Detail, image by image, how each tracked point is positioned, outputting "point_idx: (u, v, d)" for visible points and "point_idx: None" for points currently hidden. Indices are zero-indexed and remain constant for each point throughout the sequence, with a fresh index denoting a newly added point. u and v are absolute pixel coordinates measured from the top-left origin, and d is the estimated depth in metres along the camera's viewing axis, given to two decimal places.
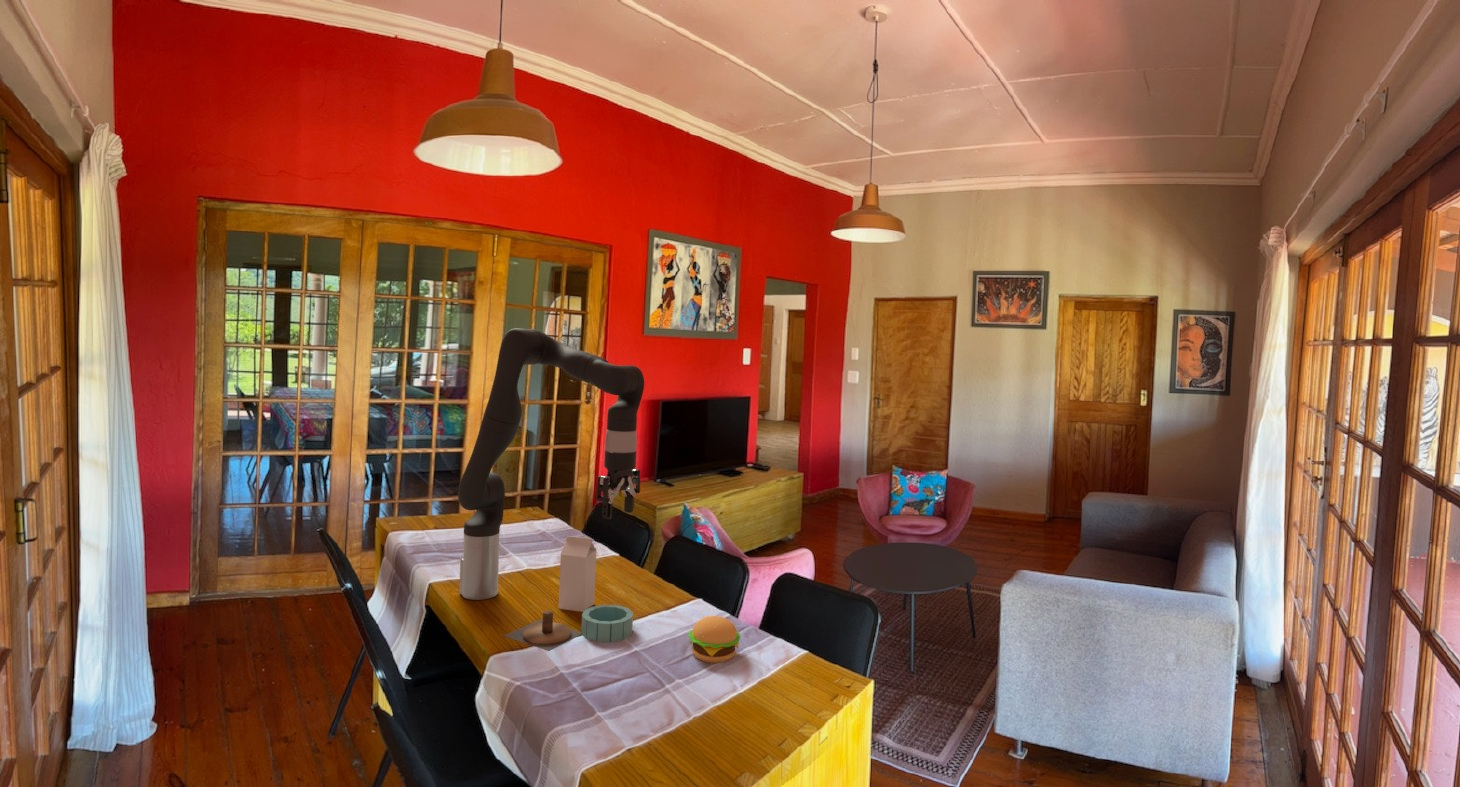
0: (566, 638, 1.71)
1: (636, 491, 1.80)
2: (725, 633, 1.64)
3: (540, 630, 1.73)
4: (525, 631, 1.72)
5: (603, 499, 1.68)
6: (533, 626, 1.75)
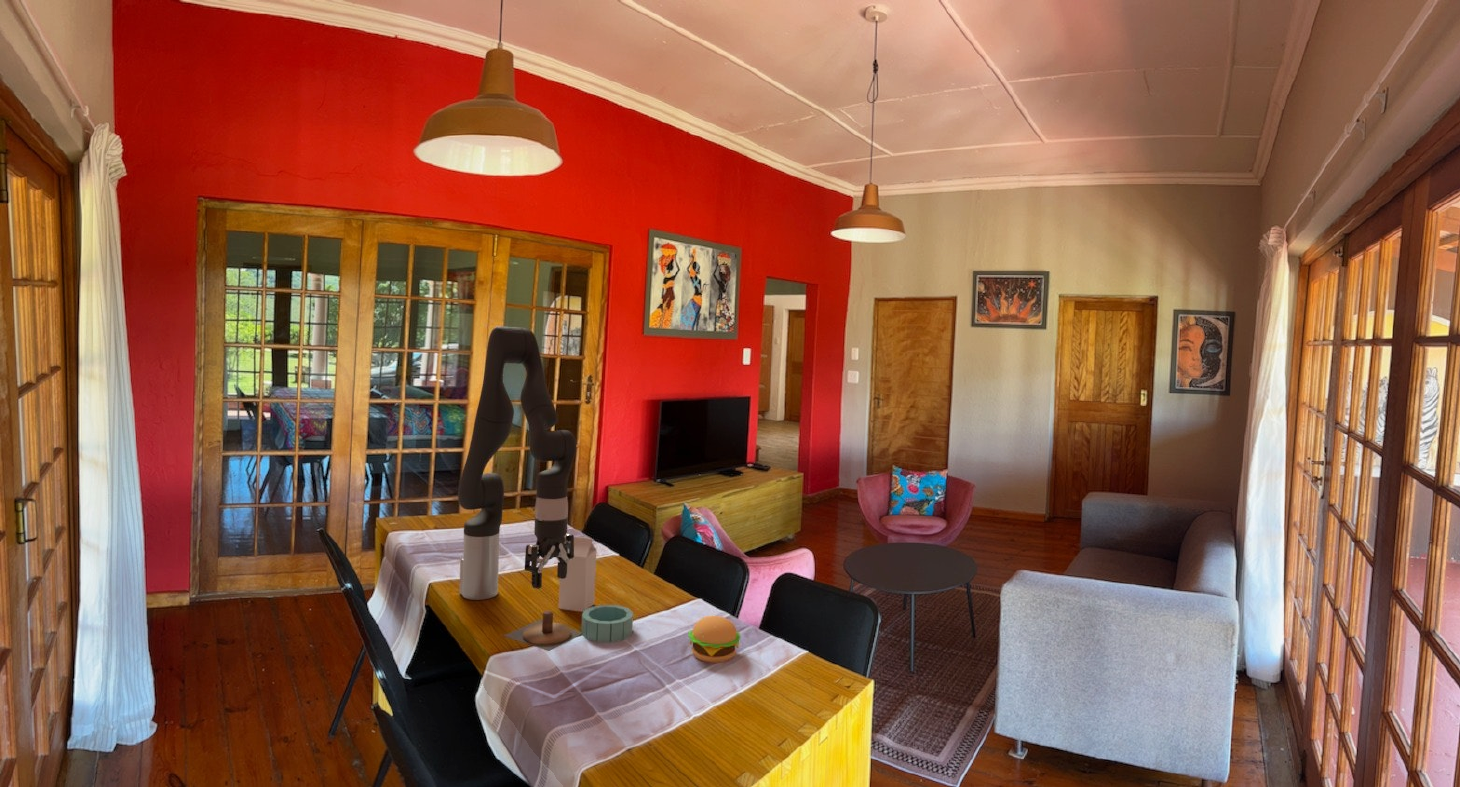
0: (566, 638, 1.71)
1: (569, 556, 1.76)
2: (725, 633, 1.64)
3: (540, 630, 1.73)
4: (525, 631, 1.72)
5: (531, 569, 1.65)
6: (533, 626, 1.75)
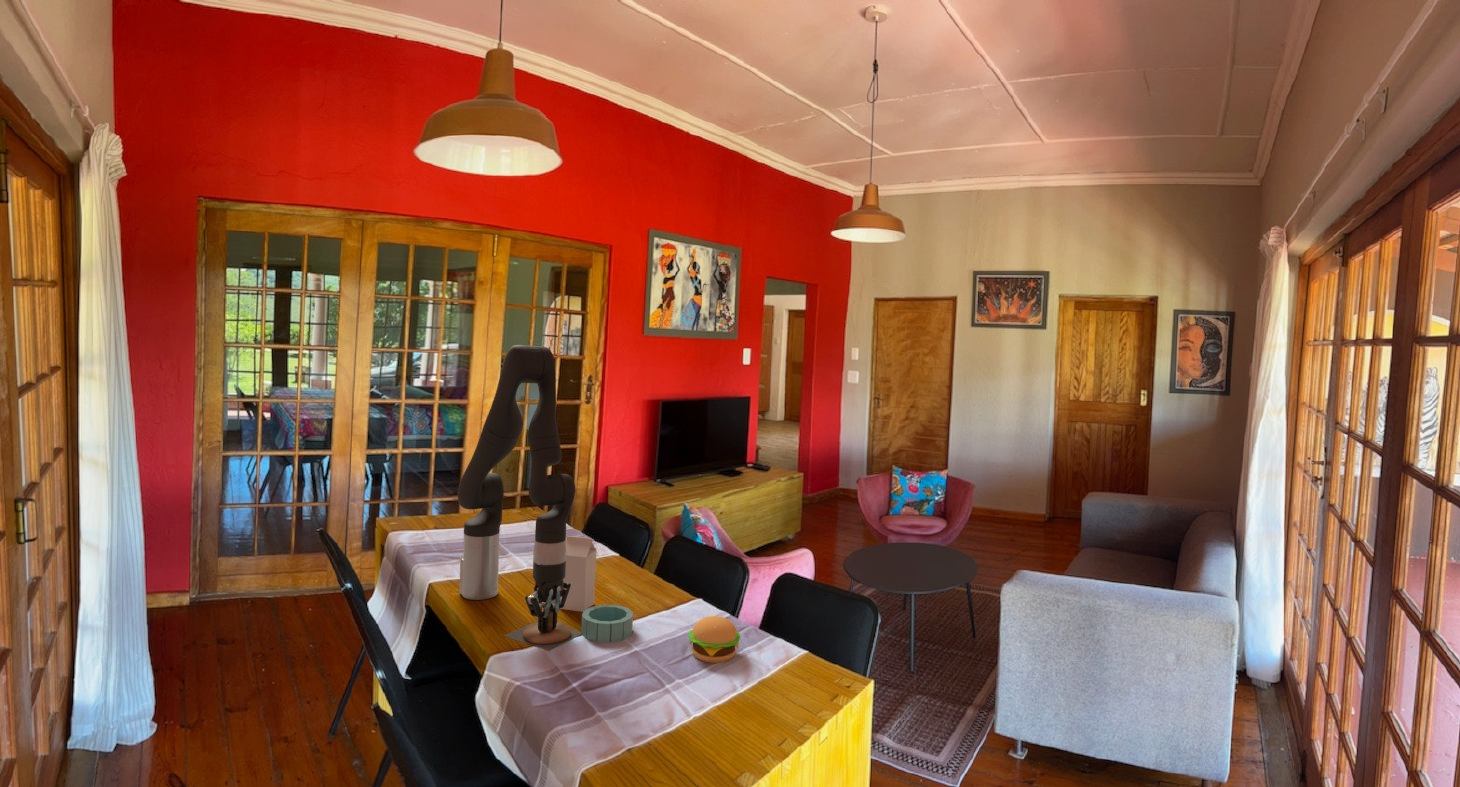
0: (566, 637, 1.71)
1: (560, 606, 1.75)
2: (725, 633, 1.64)
3: None
4: (525, 630, 1.72)
5: (538, 616, 1.68)
6: (533, 625, 1.75)
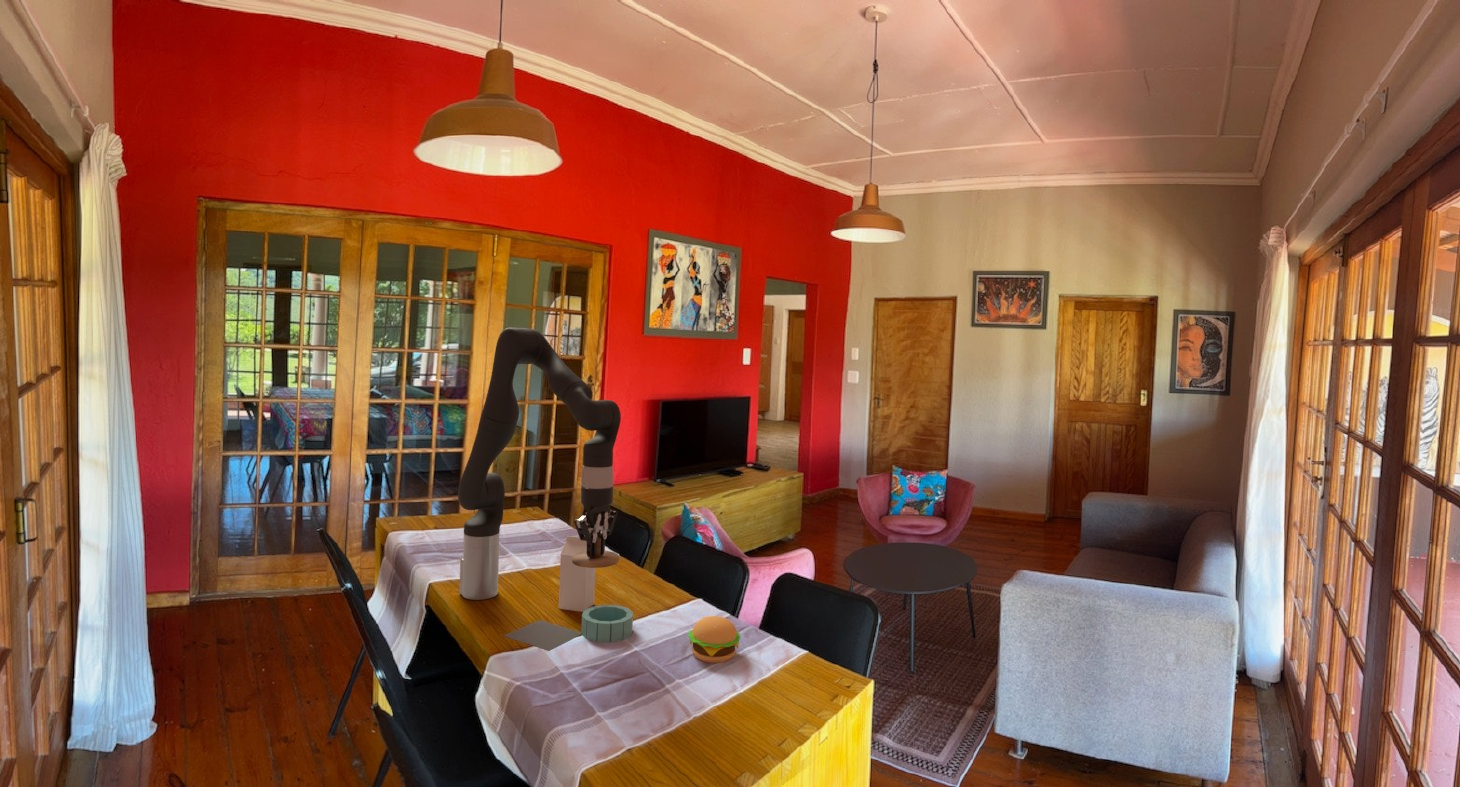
0: (615, 562, 1.71)
1: (607, 533, 1.75)
2: (725, 633, 1.64)
3: None
4: (574, 556, 1.73)
5: (587, 540, 1.69)
6: (581, 552, 1.76)
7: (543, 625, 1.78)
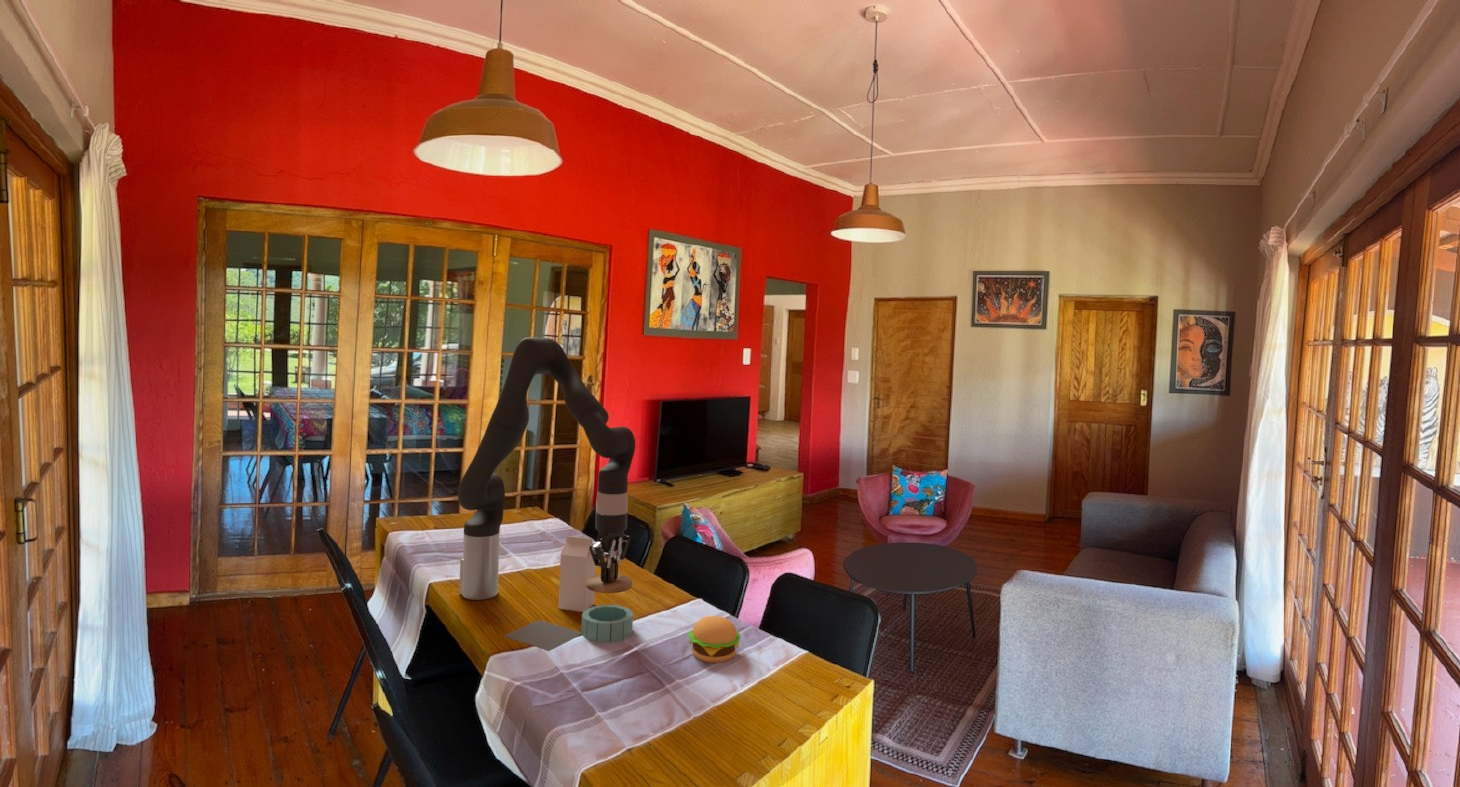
0: (629, 587, 1.74)
1: (620, 557, 1.78)
2: (725, 633, 1.64)
3: None
4: (588, 581, 1.75)
5: (601, 565, 1.71)
6: (594, 576, 1.79)
7: (543, 625, 1.78)
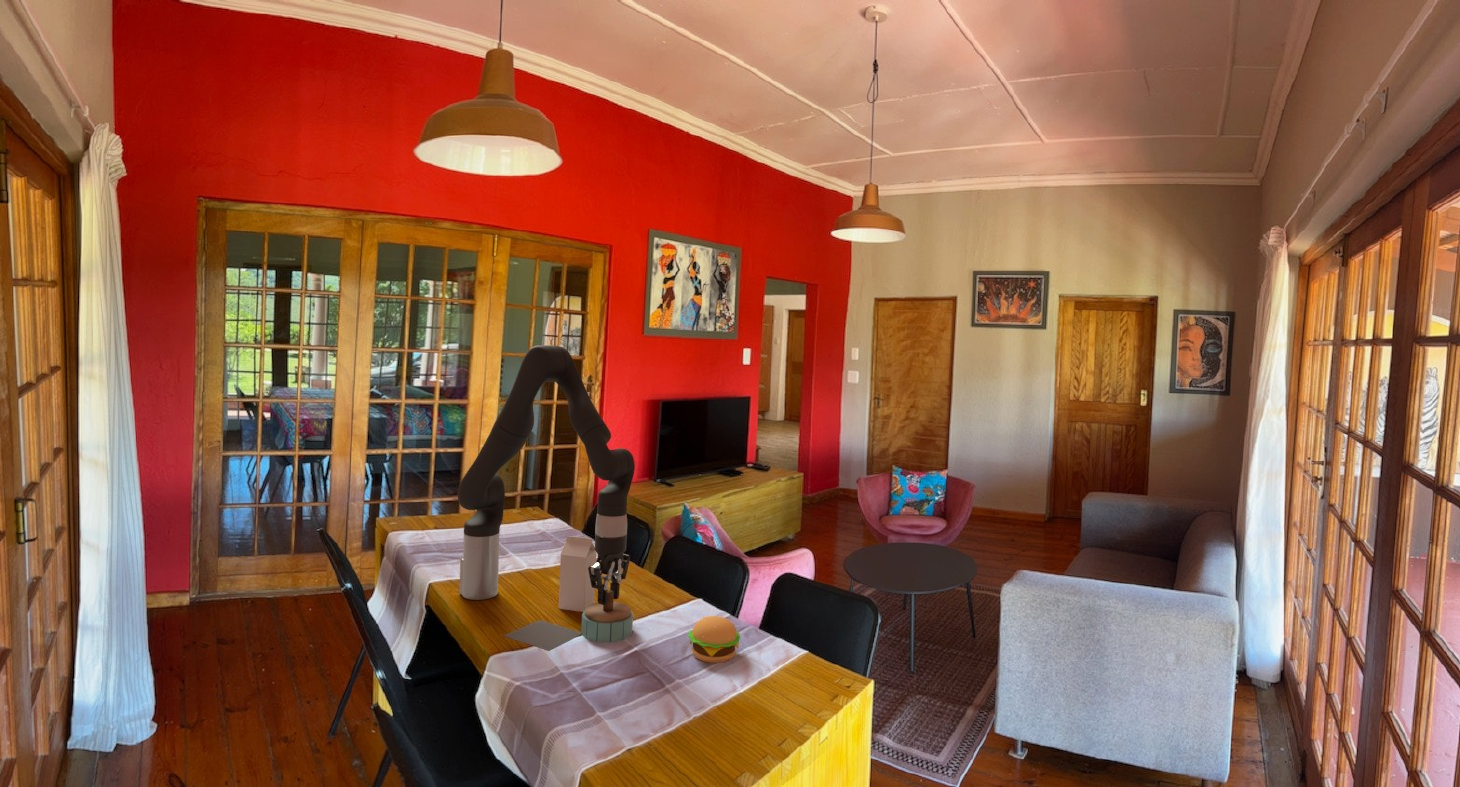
0: (627, 616, 1.74)
1: (622, 577, 1.79)
2: (725, 633, 1.64)
3: (600, 609, 1.77)
4: (586, 609, 1.76)
5: (598, 587, 1.71)
6: (593, 604, 1.79)
7: (543, 625, 1.78)
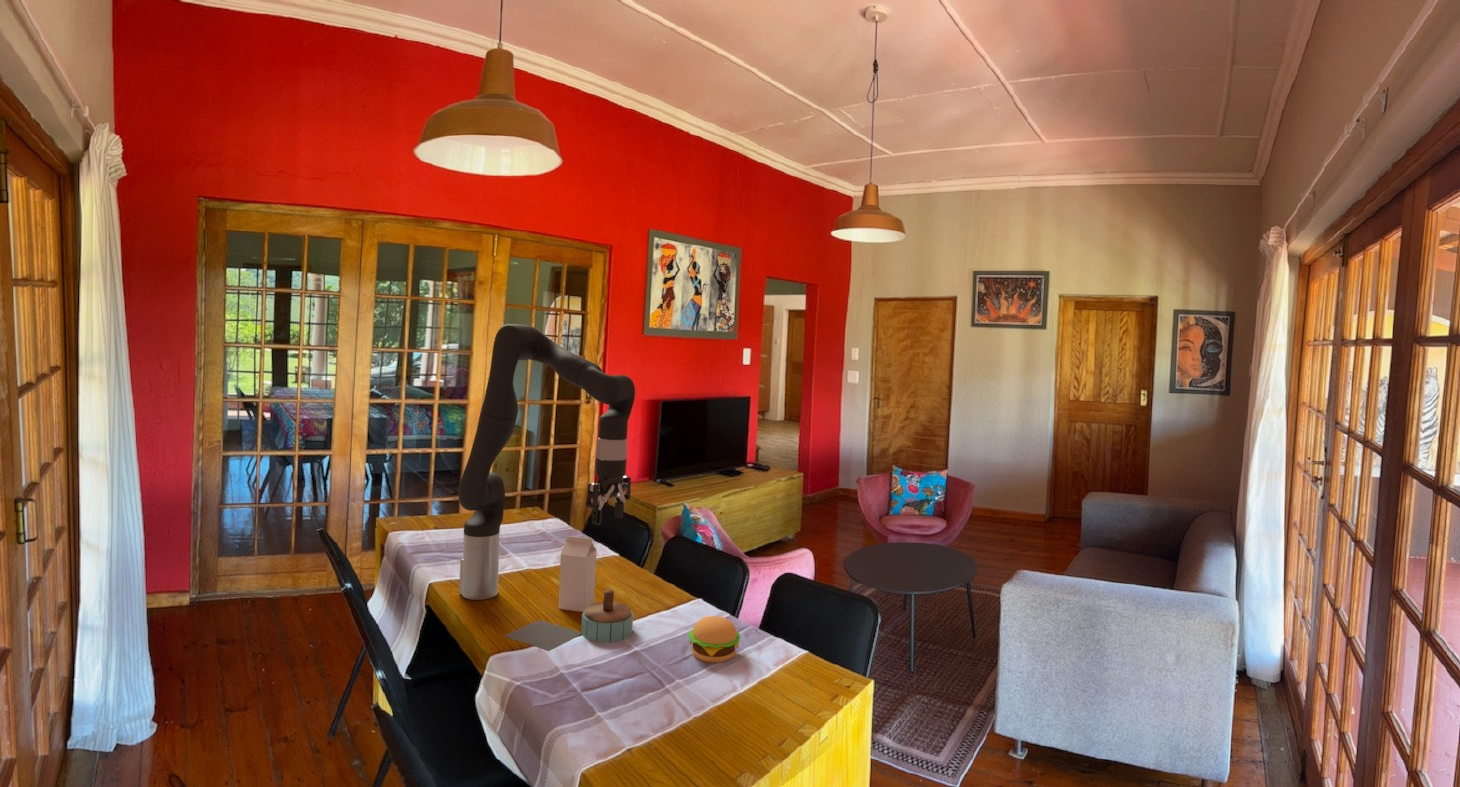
0: (627, 616, 1.74)
1: (626, 497, 1.84)
2: (725, 633, 1.64)
3: (600, 609, 1.77)
4: (586, 609, 1.76)
5: (593, 505, 1.73)
6: (593, 604, 1.79)
7: (543, 625, 1.78)
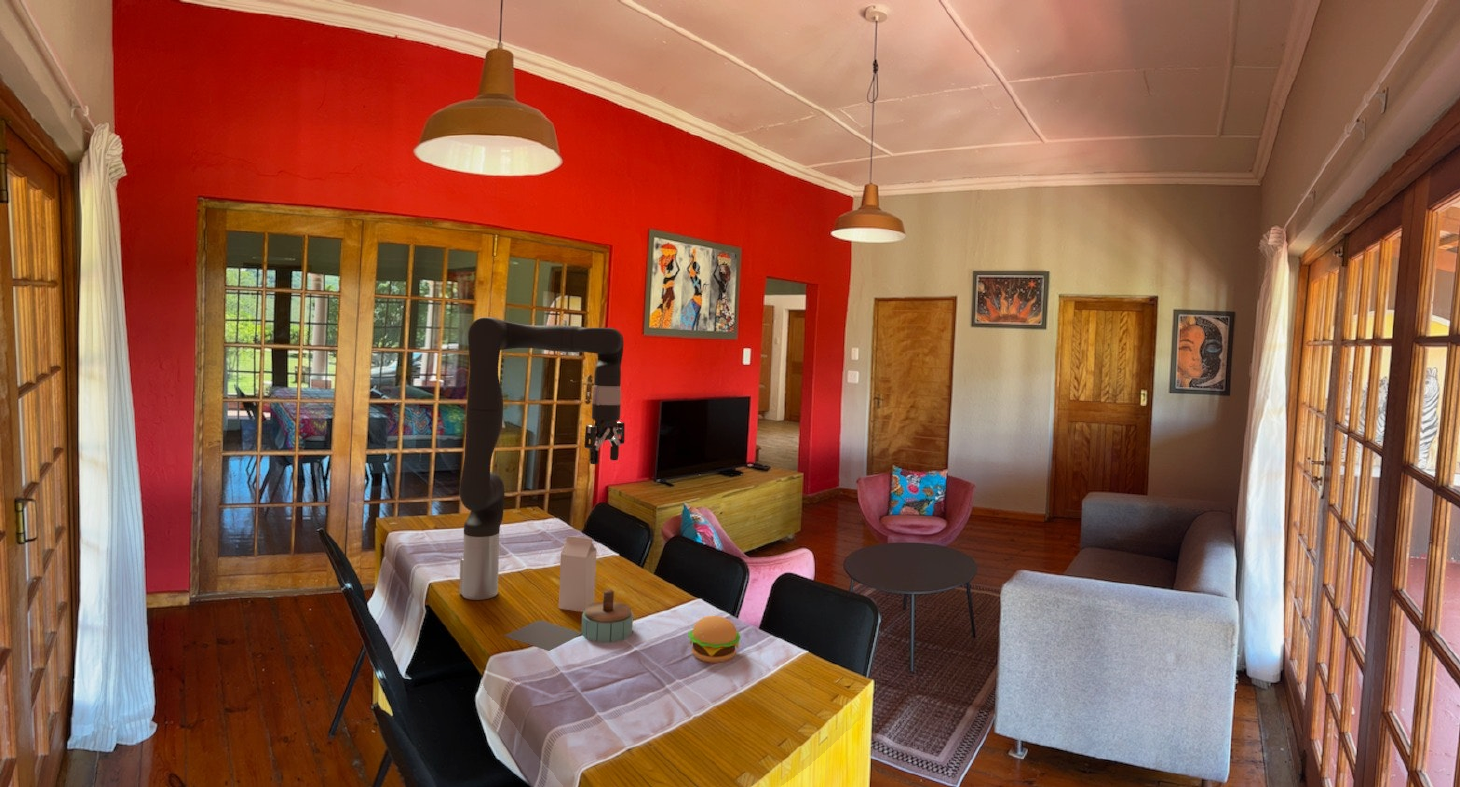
0: (627, 616, 1.74)
1: (621, 441, 2.01)
2: (725, 633, 1.64)
3: (600, 609, 1.77)
4: (586, 609, 1.76)
5: (590, 446, 1.89)
6: (593, 604, 1.79)
7: (543, 625, 1.78)
